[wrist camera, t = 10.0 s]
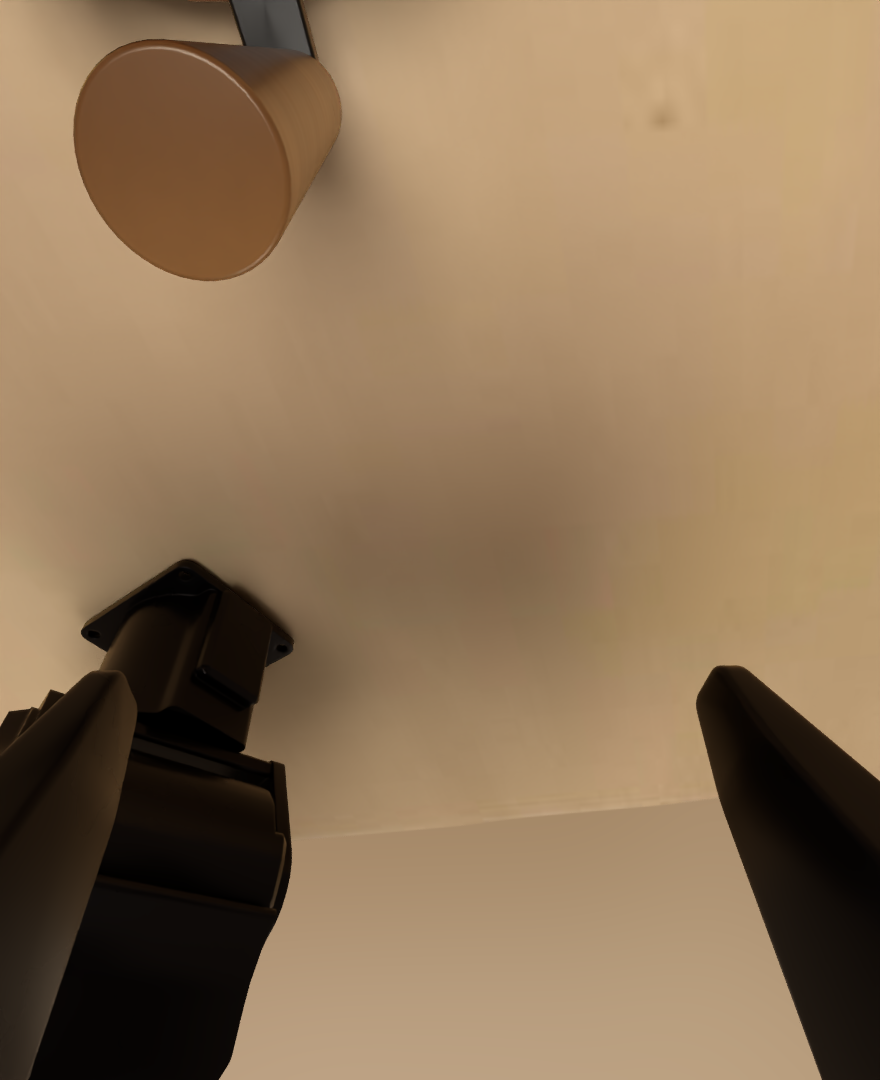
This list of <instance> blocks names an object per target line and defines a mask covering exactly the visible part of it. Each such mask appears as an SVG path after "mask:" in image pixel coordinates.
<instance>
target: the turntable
mask: <svg viewBox="0 0 880 1080" xmlns="http://www.w3.org/2000/svg"><path fill="white" fill-rule="evenodd" d="M189 1H220V2H229V0H189Z"/></svg>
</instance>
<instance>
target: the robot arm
mask: <svg viewBox="0 0 880 1080" xmlns="http://www.w3.org/2000/svg"><path fill="white" fill-rule="evenodd" d="M182 571H184V572H188V573H190V574H185V573H183V572H182ZM81 634H82V636H83V637H84V638H85V639H86V640H88V641H90V642H91V643H93V644H95V645H96V646H98V647H99V648H101V649H103V650H104V651H106V652H107V654H106V656H105V658H104V661H103V663H102V665H101V667H100V669H99V671H92V672H90V673H88V674H87V675H85V676H84V677H83V678H82V679H81V680H80V681H79V682H78V683H77V684H76V685H74V686H73V687H72V688H71V689H70V690H69V691H68V692H67V693H66V694H63V693H60V692H57V691H54V690H50V691H49V693H48V694H47V696H46V697H45V699H44V701H43V702H42V704H41V705H40V707H39V708H38V709H37V708H34V707H31V709H26V710H18V711H10V712H8V714H7V716H6V717H5V719H4V721H3V723H2V724H1V726H0V1080H219V1078H220V1077H221V1075H222V1074H223V1072H224V1070H225V1069H226V1067H227V1066H228V1064H229V1062H230V1060H231V1057H232V1053H233V1049H234V1045H235V1041H236V1036H237V1032H238V1028H239V1024H240V1020H241V1016H242V1012H243V1007H244V1004H245V1000H246V996H247V993H248V989H249V985H250V982H251V979H252V976H253V973H254V970H255V967H256V964H257V962H258V959H259V956H260V953H261V950H262V948H263V946H264V944H265V941H266V939H267V937H268V936H269V934H270V932H271V930H272V928H273V926H274V925H275V923H276V920H277V918H278V916H279V913H280V911H281V908H282V905H283V902H284V899H285V895H286V892H287V888H288V883H289V879H290V872H291V863H292V848H291V836H290V823H289V811H288V799H287V787H286V775H285V765H284V764H281V763H278V762H275V761H272V760H271V761H270V762H267V761H264V760H260V759H257V758H254V757H251V756H248V755H245V754H242V753H239V752H241V751H243V750H244V749H245V746H246V741H247V736H248V731H249V726H250V721H251V716H252V711H253V706H254V705H255V704H256V703H258V701H259V696H260V691H261V685H262V680H263V675H264V670H265V667H267V666H268V665H270V664H272V663H274V662H276V661H278V660H279V659H281V658H283V657H285V656H287V655H289V654H290V653H291V652H292V650H293V646H294V640H293V639H292V637H290V636H289V635H288V634H287V633H285V632H284V631H283V630H281V629H280V628H279V627H278V626H276V625H275V624H274V623H272V622H271V621H270V620H268V619H267V618H266V617H265V616H263V615H262V614H261V613H259V612H258V611H257V610H255V609H254V608H253V607H252V606H250V605H249V604H248V603H246V602H245V601H244V600H242V599H241V598H240V597H239V596H237V595H236V594H235V593H233V592H232V591H231V590H229V589H228V588H227V587H226V586H224V585H223V584H222V583H220V582H219V581H218V580H216V579H215V578H214V577H213V576H211V575H210V574H209V573H207V572H206V571H205V570H204V569H202V568H201V567H200V566H198V565H197V564H196V563H194V562H192V561H188V560H182V561H179V562H177V563H175V564H174V565H172V566H171V567H169V568H168V569H166V570H165V571H163V572H162V573H160V574H159V575H157V576H156V577H154V578H152V579H151V580H149V581H148V582H146V583H145V584H143V585H142V586H140V587H139V588H137V589H136V590H134V591H133V592H131V593H130V594H128V595H127V596H125V597H123V598H122V599H120V600H119V601H117V602H116V603H114V604H113V605H111V606H110V607H108V608H107V609H105V610H104V611H102V612H101V613H99V614H97V615H96V616H94V617H93V618H91V619H90V620H88V621H87V622H86V623H85V625H84V627H83V628H82V630H81ZM696 709H697V714H698V718H699V721H700V725H701V729H702V733H703V737H704V741H705V745H706V749H707V753H708V757H709V761H710V765H711V769H712V773H713V777H714V781H715V785H716V788H717V792H718V795H719V799H720V802H721V805H722V808H723V811H724V814H725V817H726V820H727V822H728V825H729V828H730V830H731V833H732V836H733V838H734V841H735V844H736V847H737V849H738V852H739V855H740V858H741V860H742V863H743V866H744V869H745V871H746V874H747V877H748V879H749V882H750V885H751V888H752V890H753V893H754V896H755V898H756V901H757V903H758V907H759V909H760V912H761V915H762V918H763V920H764V923H765V926H766V928H767V931H768V934H769V937H770V939H771V942H772V945H773V948H774V950H775V953H776V955H777V958H778V961H779V964H780V967H781V969H782V972H783V975H784V977H785V980H786V983H787V986H788V988H789V991H790V994H791V996H792V999H793V1002H794V1005H795V1007H796V1010H797V1013H798V1015H799V1018H800V1021H801V1024H802V1026H803V1029H804V1032H805V1035H806V1037H807V1040H808V1043H809V1046H810V1048H811V1051H812V1053H813V1056H814V1059H815V1062H816V1065H817V1067H818V1070H819V1073H820V1075H821V1078H822V1080H880V781H879V780H878V779H877V778H876V777H874V776H873V775H872V774H871V773H870V772H868V771H867V770H866V769H865V768H864V767H863V766H861V765H860V764H859V763H858V762H857V761H855V760H854V759H853V758H852V757H851V756H849V755H848V754H847V753H846V752H845V751H843V750H842V749H841V748H840V747H839V746H838V745H836V744H835V743H834V742H833V741H832V740H830V739H829V738H828V737H827V736H826V735H824V734H823V733H822V732H821V731H820V730H819V729H817V728H816V727H815V726H814V725H813V724H811V723H810V722H809V721H808V720H807V719H805V718H804V717H803V716H802V715H801V714H799V713H798V712H797V711H796V710H795V709H794V708H792V707H791V706H790V705H789V704H788V703H786V702H785V701H784V700H783V699H782V698H780V697H779V696H778V695H777V694H776V693H775V692H773V691H772V690H771V689H770V688H769V687H767V686H766V685H765V684H764V683H763V682H761V681H760V680H759V679H758V678H757V677H755V676H754V675H753V674H752V673H751V672H750V671H748V670H747V669H745V668H744V667H741V666H737V665H732V666H717V667H715V668H714V669H713V670H712V671H711V673H710V674H709V676H708V678H707V680H706V681H705V683H704V685H703V687H702V688H701V690H700V692H699V694H698V696H697V700H696Z"/></svg>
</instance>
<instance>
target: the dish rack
mask: <svg viewBox="0 0 880 1080" xmlns="http://www.w3.org/2000/svg"><path fill="white" fill-rule="evenodd" d="M229 3H230V6H231V10H232V13H233V16H234V19H235V22H236V25H237V28H238V31H239V34H240V37H241V40H242V44H243V46H241V45H228V44H215V43H203V42H190V41H177V40H165V39H147V40H142V41H136V42H132V43H129V44H127V45H124V46H121V47H119V48H117V49H116V50H114V51H112V52H111V53H109V54H108V55H106V56H105V57H104V58H103V59H102V60H101V61H100V62H99V63H98V64H96V66H95V67H94V68H93V70H92V71H91V72H90V74H89V75H88V76H87V78H86V80H85V82H84V84H83V86H82V88H81V91H80V94H79V97H78V100H77V103H76V109H75V115H74V131H73V136H74V146H75V154H76V158H77V163H78V168H79V171H80V174H81V177H82V180H83V183H84V185H85V187H86V190H87V192H88V194H89V196H90V199H91V200H92V202H93V204H94V206H95V207H96V209H97V211H98V212H99V214H100V215H101V217H102V218H103V220H104V221H105V222H106V224H107V225H108V226H109V228H110V229H111V230H112V231H113V232H114V233H115V234H116V236H117V237H118V238H119V239H120V240H121V241H122V242H123V243H124V244H125V245H126V246H128V247H129V248H130V249H131V250H132V251H134V252H135V253H136V254H137V255H139V256H140V257H141V258H143V259H144V260H146V261H148V262H149V263H151V264H152V265H154V266H156V267H158V268H160V269H162V270H164V271H166V272H168V273H171V274H174V275H177V276H180V277H183V278H188V279H192V280H200V281H219V280H225V279H231V278H234V277H237V276H240V275H242V274H244V273H246V272H248V271H250V270H252V269H253V268H255V267H256V266H258V265H259V264H260V263H262V262H263V261H264V260H265V259H266V258H267V257H268V256H269V255H270V254H271V252H272V251H273V250H274V248H275V247H276V245H277V244H278V242H279V240H280V239H281V237H282V235H283V233H284V231H285V230H286V228H287V226H288V224H289V223H290V221H291V219H292V217H293V215H294V214H295V212H296V210H297V208H298V206H299V205H300V203H301V201H302V199H303V198H304V196H305V194H306V192H307V190H308V189H309V187H310V185H311V183H312V182H313V180H314V178H315V176H316V174H317V173H318V171H319V169H320V167H321V165H322V164H323V162H324V160H325V158H326V157H327V155H328V153H329V151H330V149H331V148H332V146H333V144H334V142H335V140H336V138H337V136H338V133H339V130H340V126H341V117H342V110H341V102H340V97H339V94H338V90H337V88H336V86H335V83H334V81H333V79H332V78H331V76H330V74H329V73H328V72H327V70H326V69H325V68H324V67H323V66H322V65H321V64H320V63H319V60H318V56H317V52H316V48H315V45H314V41H313V37H312V33H311V29H310V26H309V22H308V18H307V14H306V10H305V7H304V3H303V0H229Z"/></svg>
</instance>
